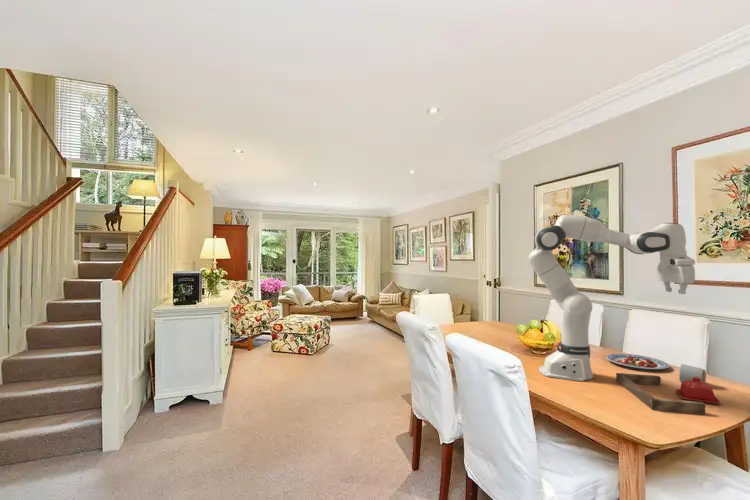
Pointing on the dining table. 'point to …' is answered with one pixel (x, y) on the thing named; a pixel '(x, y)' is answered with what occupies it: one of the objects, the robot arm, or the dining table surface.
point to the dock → (654, 403)
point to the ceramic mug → (691, 373)
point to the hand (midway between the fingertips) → (675, 292)
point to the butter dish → (697, 391)
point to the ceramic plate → (637, 361)
